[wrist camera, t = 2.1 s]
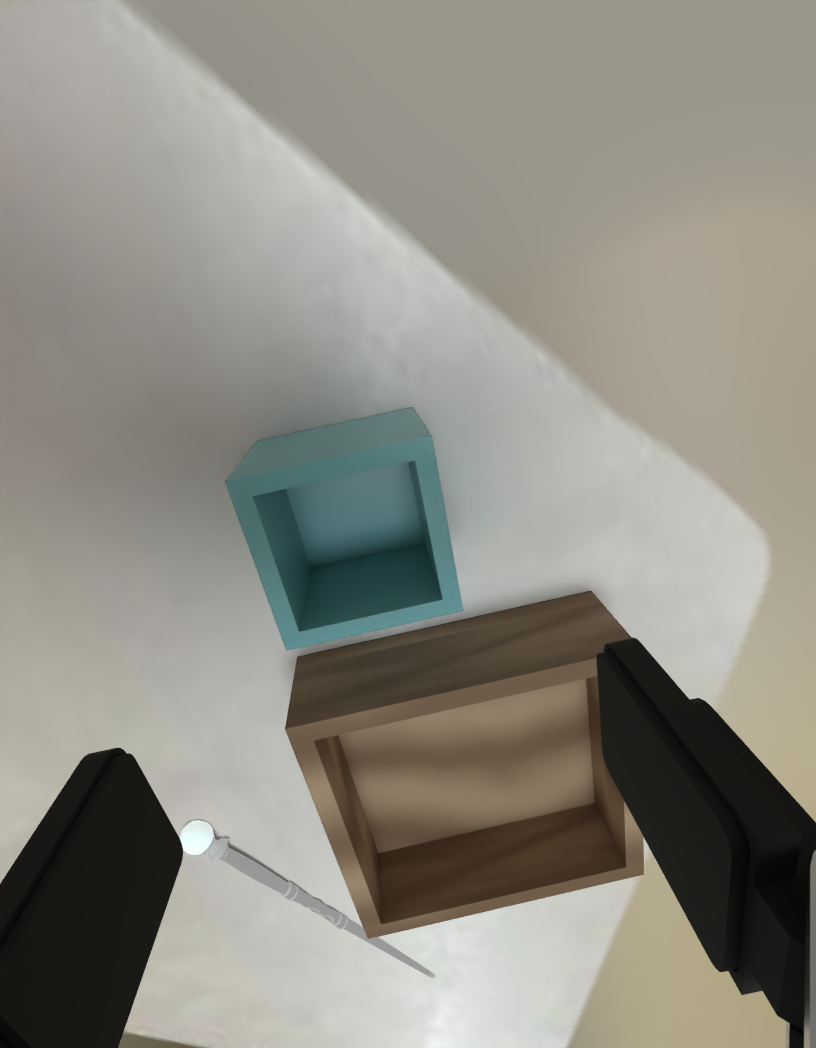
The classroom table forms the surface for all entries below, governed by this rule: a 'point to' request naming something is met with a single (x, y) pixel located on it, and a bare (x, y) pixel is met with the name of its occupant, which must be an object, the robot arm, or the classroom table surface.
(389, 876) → the big crate
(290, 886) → the magic wand
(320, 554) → the small crate
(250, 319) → the classroom table surface
